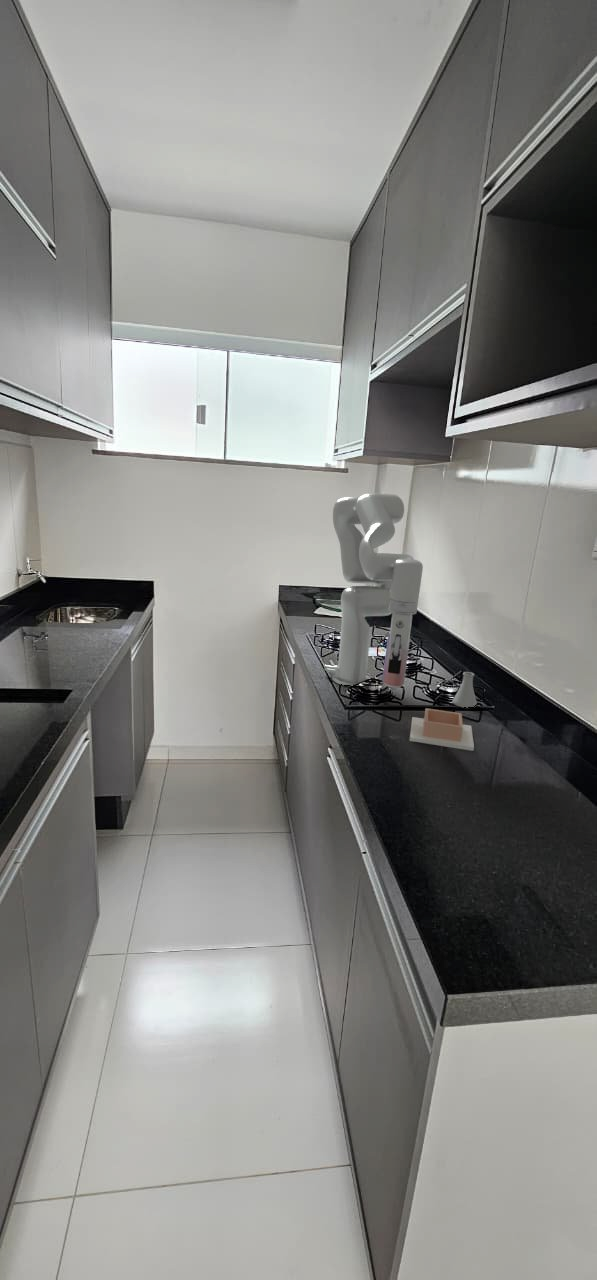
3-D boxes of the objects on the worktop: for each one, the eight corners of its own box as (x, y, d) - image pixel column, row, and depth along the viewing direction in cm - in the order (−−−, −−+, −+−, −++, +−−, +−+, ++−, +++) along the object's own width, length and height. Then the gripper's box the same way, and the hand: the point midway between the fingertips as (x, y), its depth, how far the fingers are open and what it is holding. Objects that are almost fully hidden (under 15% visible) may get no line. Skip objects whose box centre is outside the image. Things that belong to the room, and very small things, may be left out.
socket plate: (409, 740, 150) (411, 722, 148) (411, 720, 163) (414, 703, 162) (473, 750, 146) (476, 732, 145) (470, 729, 160) (473, 712, 158)
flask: (461, 698, 183) (465, 668, 180) (481, 705, 177) (486, 675, 175) (447, 702, 178) (451, 671, 175) (467, 710, 173) (472, 679, 170)
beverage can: (377, 681, 163) (384, 630, 158) (395, 679, 165) (402, 628, 161) (389, 689, 158) (396, 636, 153) (407, 687, 160) (415, 635, 155)
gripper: (415, 615, 146) (406, 682, 151) (418, 600, 162) (409, 661, 167) (386, 611, 147) (377, 677, 153) (391, 597, 163) (383, 657, 169)
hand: (394, 668), depth 160 cm, fingers closed on beverage can, 6 cm apart
